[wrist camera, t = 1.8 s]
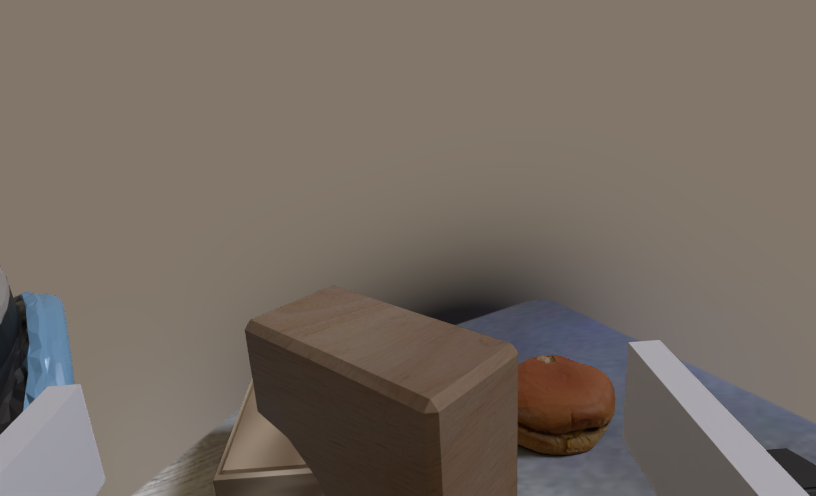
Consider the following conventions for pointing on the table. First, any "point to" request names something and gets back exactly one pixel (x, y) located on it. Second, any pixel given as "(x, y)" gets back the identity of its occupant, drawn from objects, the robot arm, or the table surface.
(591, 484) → the table surface
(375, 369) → the decorative block
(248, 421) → the plinth
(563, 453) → the burger
